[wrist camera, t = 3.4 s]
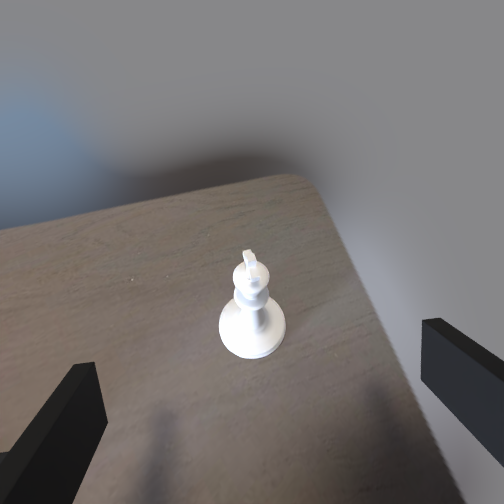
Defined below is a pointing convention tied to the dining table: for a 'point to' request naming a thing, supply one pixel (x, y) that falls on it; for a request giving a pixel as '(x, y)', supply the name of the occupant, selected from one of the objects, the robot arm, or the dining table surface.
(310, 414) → the dining table surface
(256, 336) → the chess piece
